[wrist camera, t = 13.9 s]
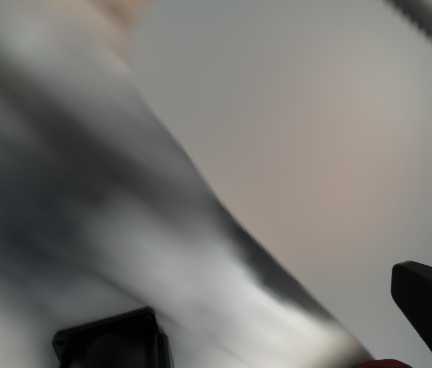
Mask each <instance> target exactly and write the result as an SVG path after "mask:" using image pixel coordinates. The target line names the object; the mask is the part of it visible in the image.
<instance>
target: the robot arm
mask: <svg viewBox="0 0 432 368" xmlns="http://www.w3.org/2000/svg"><path fill="white" fill-rule="evenodd" d="M391 295H392V298H393V300H394V302H395V303H396V304H397V306H398V307H399V308H400V310H401V311H402V313H403V314H404V315H405V317H406V318H407V319H408V321H409V322H410V323H411V325H412V326H413V327H414V329H415V330H416V332H417V333H418V334H419V336H420V337H421V338H422V340H423V341H424V342H425V343H426V345H427V346H428V348H429V349H430V350H431V352H432V267H431V266H427V265H424V264H420V263H417V262H414V261H405V262H401V263H398V264H395V265H394V266H393V268H392V279H391ZM145 316H150V317H149V318H145ZM59 339H62V340H64V341H59ZM52 345H53V348H54V350H55V353H56V355H57V357H58V360H59V362H60V364H59V367H58V368H174V361H173V357H172V353H171V349H170V345H169V341H168V337H167V335H165V334H164V333H163V334H160V331H159V327H158V323H157V319H156V315H155V312H154V310H152V309H149V308H148V309H143V310H139V311H135V312H132V313H128V314H124V315H121V316H117V317H113V318H109V319H106V320H102V321H98V322H94V323H91V324H87V325H83V326H80V327H76V328H72V329H68V330H65V331H61V332H58V333H56V334H55V335H54V338H53V341H52Z"/></svg>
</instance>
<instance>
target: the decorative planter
mask: <svg viewBox="0 0 432 368" xmlns="http://www.w3.org/2000/svg"><path fill="white" fill-rule="evenodd" d="M356 368H412V367H411V366H409V365H407V364H405V363H403V362H400V361H398V360H394V359H383V360H375V361H371V362H367V363H365V364H362V365H360V366H358V367H356Z"/></svg>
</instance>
